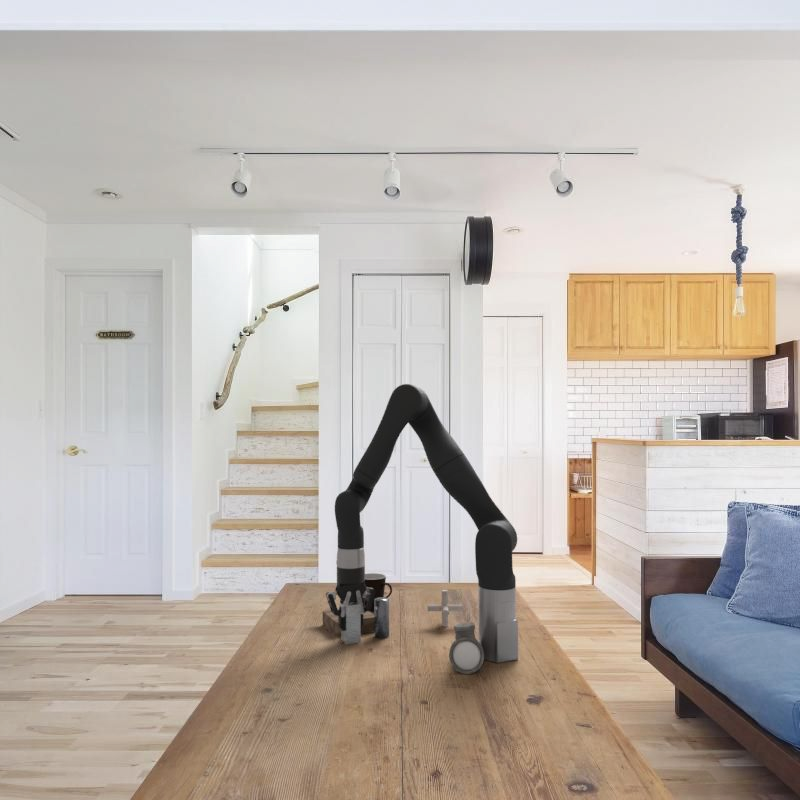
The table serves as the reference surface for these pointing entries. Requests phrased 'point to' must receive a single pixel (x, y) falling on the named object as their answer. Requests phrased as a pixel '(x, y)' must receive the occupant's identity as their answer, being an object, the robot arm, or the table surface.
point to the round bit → (381, 617)
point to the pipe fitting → (466, 650)
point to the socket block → (332, 625)
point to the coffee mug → (376, 586)
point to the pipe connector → (445, 608)
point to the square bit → (352, 624)
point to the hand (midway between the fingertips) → (351, 628)
